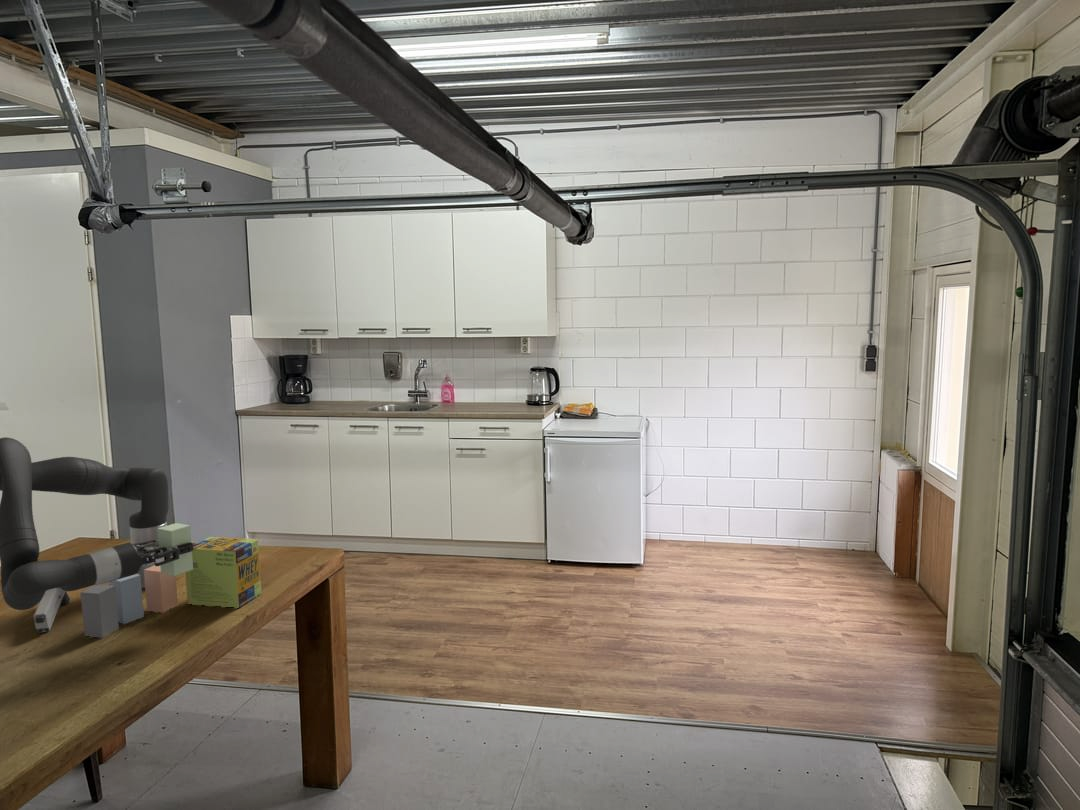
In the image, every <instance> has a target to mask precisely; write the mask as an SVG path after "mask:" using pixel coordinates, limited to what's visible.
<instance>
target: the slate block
mask: <svg viewBox="0 0 1080 810" xmlns="http://www.w3.org/2000/svg"><path fill="white" fill-rule="evenodd" d="M108 583H109V584H108V585H111V586H115V589H116V600H117V611H118V622H120V623H119V624H121V623H123V624H122V625H126V624H125V623H127V624H129V623H128V622H130V623H132V622H134V621H133V620H135V621H137V620H136V619H138V620H140V619H143V618H145V613H144V603H143V591H142V589H143V588H141V577H140V575H138V574H135V575H132V576H128V577H125V578H121V579H118V580H114V581H111V582H108ZM142 617H143V618H142ZM139 618H140V619H139ZM131 621H132V622H131Z"/></svg>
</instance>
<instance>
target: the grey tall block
mask: <svg viewBox="0 0 1080 810" xmlns="http://www.w3.org/2000/svg"><path fill="white" fill-rule="evenodd" d="M79 594H80V603H81V611H82V612H81V613H82V622H83V623H82V624H83V634H84V637H85V636H90V637H89V638H93V637H99V638H98V639H104V638H106V637H108V636H110V635H111V634H110V633H112V632H113V633H115V632H117V631H118V629H119V630H120V626H119V624H120V623H118V611H117V600H116V589H115V586H111V585H110V584H97V585H93V586H90V587H88V588H86V589H85V590H82V591H80V593H79ZM116 630H117V631H116ZM114 631H115V632H114ZM113 633H112V634H113ZM109 634H110V635H109ZM107 635H108V636H107ZM105 636H106V637H105ZM103 637H104V638H103Z"/></svg>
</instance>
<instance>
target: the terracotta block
mask: <svg viewBox="0 0 1080 810" xmlns="http://www.w3.org/2000/svg"><path fill="white" fill-rule="evenodd" d="M144 579H145V588H144V589H145V590H144V591H145V600H146V602H145V603H146V611H147V612H150V611H153V612H152V613H158V612H161V613H160V614H164V613H166V612H168V611H169V609H170V608H172V609H174V608H175V606H176V607H178V606H179V604H178V603H179V602H178V592H177V591H178V590H177V580H176V579H177V575H176V576H173V575H168V574H164V573H161V567H160V566H155V565H154V566H152V567H150V568H147V569H145V570H144ZM177 605H178V606H177ZM173 607H174V608H173ZM167 610H168V611H167ZM170 610H171V609H170ZM165 611H166V612H165ZM163 612H164V613H163Z"/></svg>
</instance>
